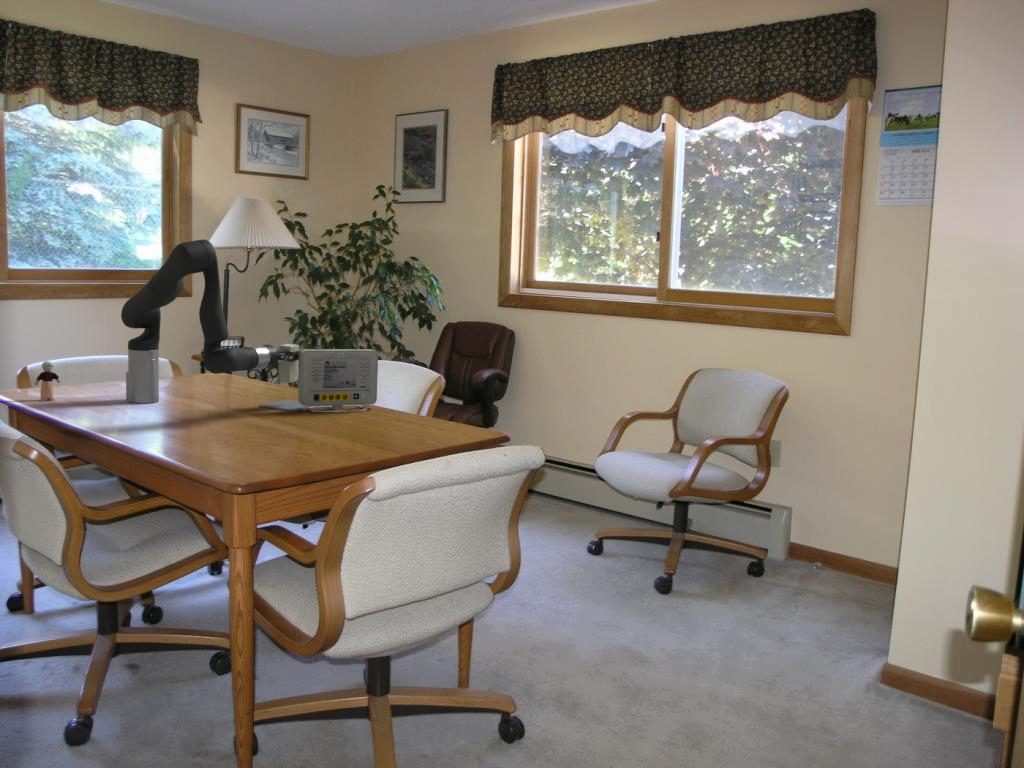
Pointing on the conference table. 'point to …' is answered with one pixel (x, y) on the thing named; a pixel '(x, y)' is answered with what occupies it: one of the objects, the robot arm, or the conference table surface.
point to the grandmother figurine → (47, 381)
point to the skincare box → (288, 366)
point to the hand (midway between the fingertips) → (293, 353)
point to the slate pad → (285, 405)
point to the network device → (337, 378)
